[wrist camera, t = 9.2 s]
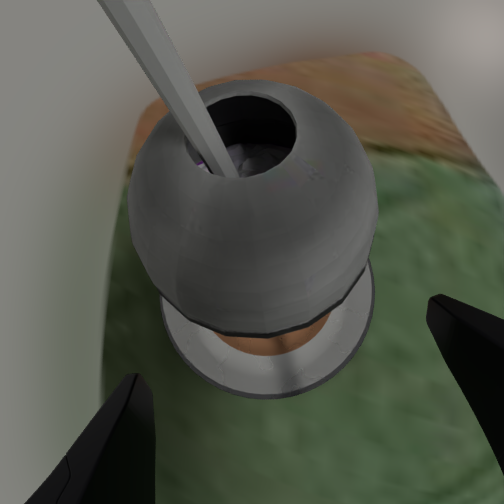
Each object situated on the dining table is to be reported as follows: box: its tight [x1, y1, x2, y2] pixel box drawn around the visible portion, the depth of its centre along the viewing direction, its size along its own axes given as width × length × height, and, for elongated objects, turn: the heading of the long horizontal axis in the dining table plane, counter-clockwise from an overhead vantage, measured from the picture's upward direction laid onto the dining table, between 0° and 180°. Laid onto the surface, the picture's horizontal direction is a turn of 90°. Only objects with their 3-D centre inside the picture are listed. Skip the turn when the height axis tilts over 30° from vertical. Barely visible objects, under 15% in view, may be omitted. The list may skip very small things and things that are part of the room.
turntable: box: [162, 261, 372, 394], centre depth 21 cm, size 14×14×1 cm
